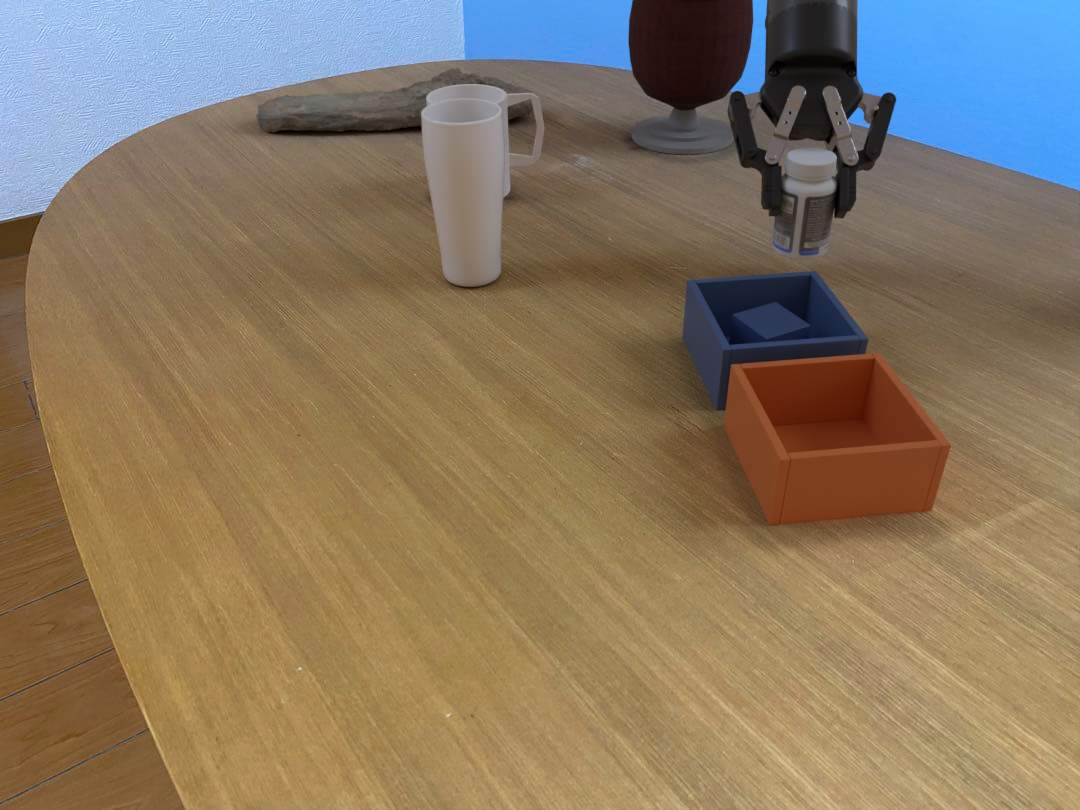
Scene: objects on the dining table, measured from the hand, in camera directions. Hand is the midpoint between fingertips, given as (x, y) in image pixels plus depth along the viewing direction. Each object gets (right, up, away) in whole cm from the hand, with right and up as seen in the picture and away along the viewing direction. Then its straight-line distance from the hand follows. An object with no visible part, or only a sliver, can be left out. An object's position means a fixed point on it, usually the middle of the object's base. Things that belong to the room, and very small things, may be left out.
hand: (808, 213), depth 77 cm
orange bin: (-4, -20, -16) cm, 26 cm away
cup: (-28, +7, +24) cm, 37 cm away
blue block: (-5, -13, -7) cm, 16 cm away
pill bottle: (0, -2, +4) cm, 5 cm away
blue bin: (-5, -13, -6) cm, 16 cm away
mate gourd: (-4, +17, +37) cm, 40 cm away
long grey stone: (-40, +20, +43) cm, 62 cm away
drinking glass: (-28, -4, +7) cm, 29 cm away
